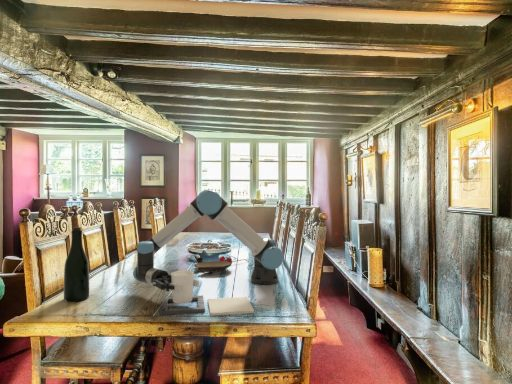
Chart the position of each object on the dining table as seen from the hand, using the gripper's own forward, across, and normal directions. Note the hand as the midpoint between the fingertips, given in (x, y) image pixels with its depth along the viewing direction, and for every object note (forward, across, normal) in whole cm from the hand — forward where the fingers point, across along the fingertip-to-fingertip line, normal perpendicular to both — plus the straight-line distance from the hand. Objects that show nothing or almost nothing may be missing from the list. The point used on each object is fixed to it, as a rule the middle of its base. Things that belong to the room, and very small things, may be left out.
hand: (189, 286), depth 146 cm
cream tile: (+11, -13, -10) cm, 20 cm away
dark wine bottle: (-50, +24, -9) cm, 56 cm away
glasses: (-49, -81, -10) cm, 95 cm away
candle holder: (-5, 0, -7) cm, 8 cm away
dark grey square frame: (-5, 0, -10) cm, 11 cm away
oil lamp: (-43, -54, -10) cm, 70 cm away
